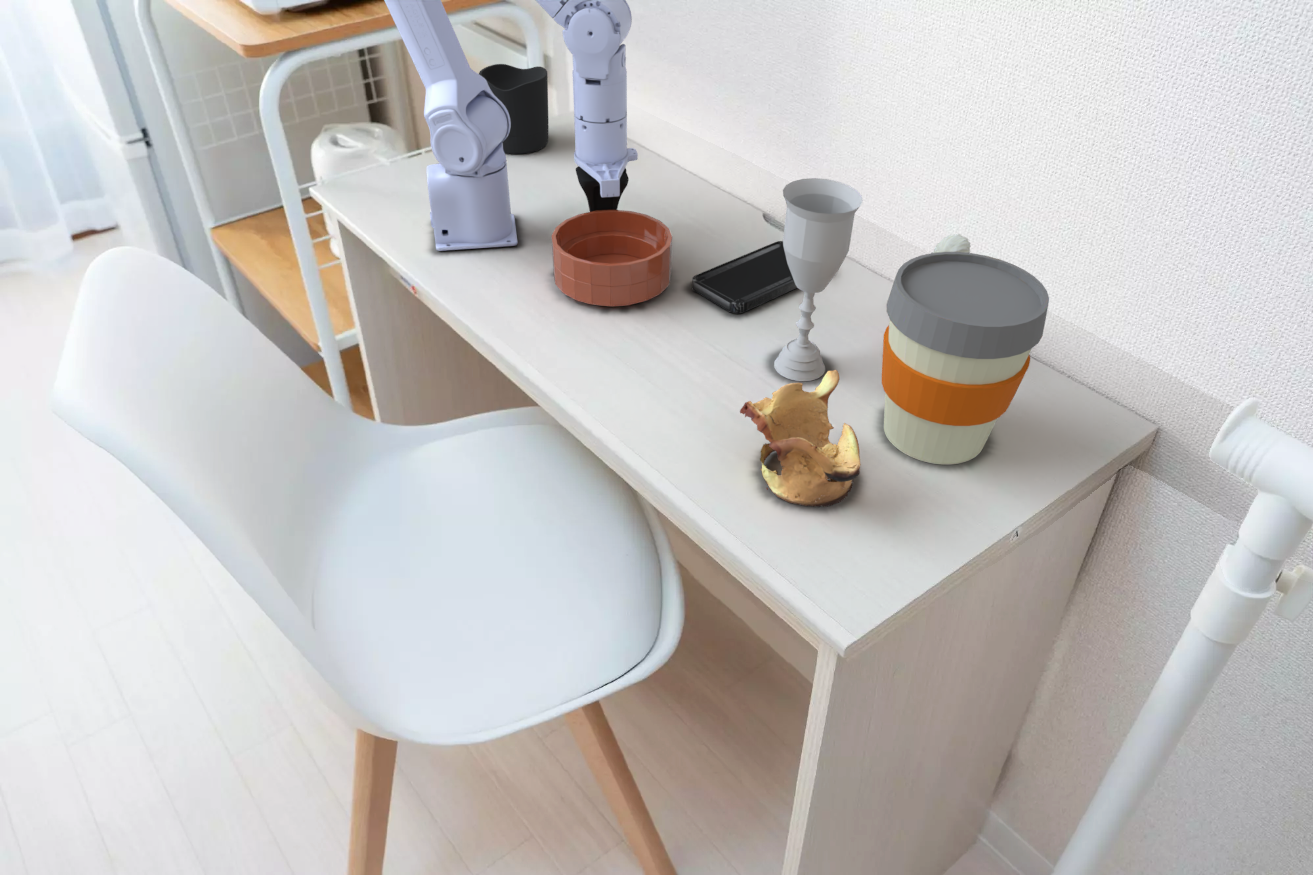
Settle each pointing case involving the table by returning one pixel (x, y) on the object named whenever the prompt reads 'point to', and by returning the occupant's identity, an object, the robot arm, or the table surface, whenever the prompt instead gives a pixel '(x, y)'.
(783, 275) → the phone
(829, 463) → the yellow irregular figure
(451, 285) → the table surface
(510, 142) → the pen holder
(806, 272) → the chalice
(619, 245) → the bowl
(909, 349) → the reusable coffee cup
